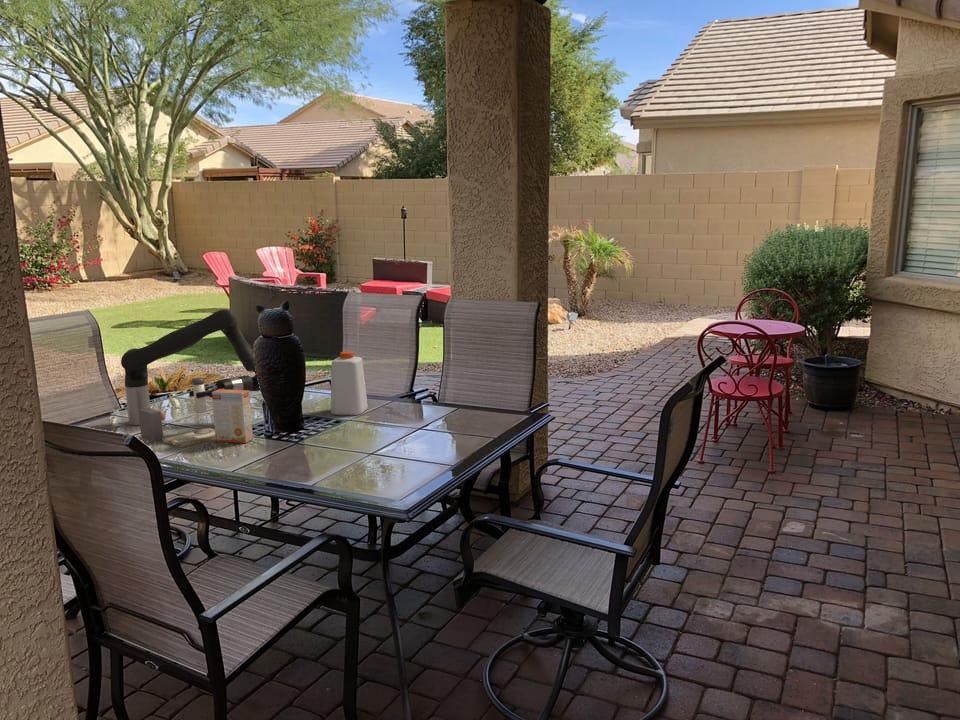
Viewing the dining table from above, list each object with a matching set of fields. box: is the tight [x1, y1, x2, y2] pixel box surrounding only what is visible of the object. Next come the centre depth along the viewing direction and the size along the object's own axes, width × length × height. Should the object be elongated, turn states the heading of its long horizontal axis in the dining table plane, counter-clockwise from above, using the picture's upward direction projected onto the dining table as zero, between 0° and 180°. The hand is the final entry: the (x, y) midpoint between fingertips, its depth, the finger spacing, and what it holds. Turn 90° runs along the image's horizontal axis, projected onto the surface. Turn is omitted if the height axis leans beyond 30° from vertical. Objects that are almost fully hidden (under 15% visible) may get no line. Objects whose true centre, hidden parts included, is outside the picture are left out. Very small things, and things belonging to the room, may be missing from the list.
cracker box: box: [211, 389, 254, 444], centre depth 303 cm, size 14×6×21 cm, turn 74°
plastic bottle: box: [330, 350, 369, 416], centre depth 346 cm, size 15×15×28 cm
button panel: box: [139, 407, 164, 442], centre depth 309 cm, size 10×4×12 cm, turn 52°
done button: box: [157, 409, 166, 421], centre depth 311 cm, size 4×2×4 cm, turn 52°
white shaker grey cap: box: [191, 377, 207, 414], centre depth 311 cm, size 5×5×14 cm
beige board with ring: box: [162, 426, 216, 448], centre depth 308 cm, size 14×20×2 cm
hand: (193, 394), depth 308 cm, fingers closed on white shaker grey cap, 4 cm apart
